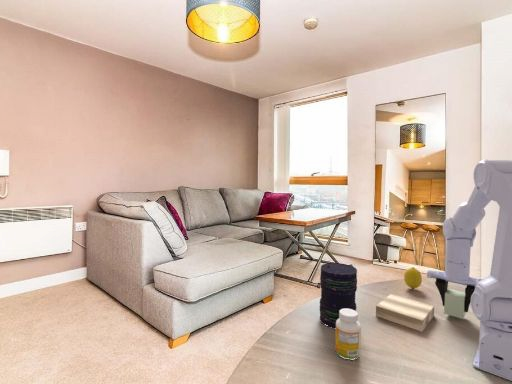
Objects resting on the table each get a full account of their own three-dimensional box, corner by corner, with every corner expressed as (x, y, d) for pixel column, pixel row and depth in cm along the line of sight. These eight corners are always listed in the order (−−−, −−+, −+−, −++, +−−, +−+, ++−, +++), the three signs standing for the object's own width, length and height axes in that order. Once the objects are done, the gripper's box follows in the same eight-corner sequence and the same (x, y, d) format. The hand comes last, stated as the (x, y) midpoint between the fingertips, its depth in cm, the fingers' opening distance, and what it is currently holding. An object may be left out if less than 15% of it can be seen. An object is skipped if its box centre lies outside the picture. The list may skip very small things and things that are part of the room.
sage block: (463, 319, 79) (464, 297, 78) (444, 313, 82) (445, 293, 81) (466, 313, 82) (466, 293, 81) (447, 308, 85) (448, 288, 85)
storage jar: (360, 318, 81) (361, 266, 80) (350, 334, 72) (352, 277, 72) (326, 309, 86) (327, 260, 85) (313, 323, 78) (314, 269, 77)
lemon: (403, 290, 101) (404, 268, 101) (403, 285, 106) (404, 264, 106) (421, 293, 99) (422, 270, 98) (421, 288, 103) (421, 266, 103)
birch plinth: (422, 331, 74) (422, 320, 74) (375, 315, 82) (376, 305, 82) (433, 316, 82) (434, 305, 82) (390, 302, 91) (391, 293, 91)
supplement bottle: (340, 344, 68) (341, 304, 68) (363, 352, 65) (364, 311, 64) (331, 354, 64) (332, 312, 64) (354, 364, 61) (356, 320, 60)
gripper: (491, 264, 79) (489, 311, 79) (431, 253, 89) (430, 296, 90) (488, 269, 74) (486, 320, 74) (425, 258, 84) (424, 303, 84)
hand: (455, 308), depth 82 cm, fingers closed on sage block, 4 cm apart
